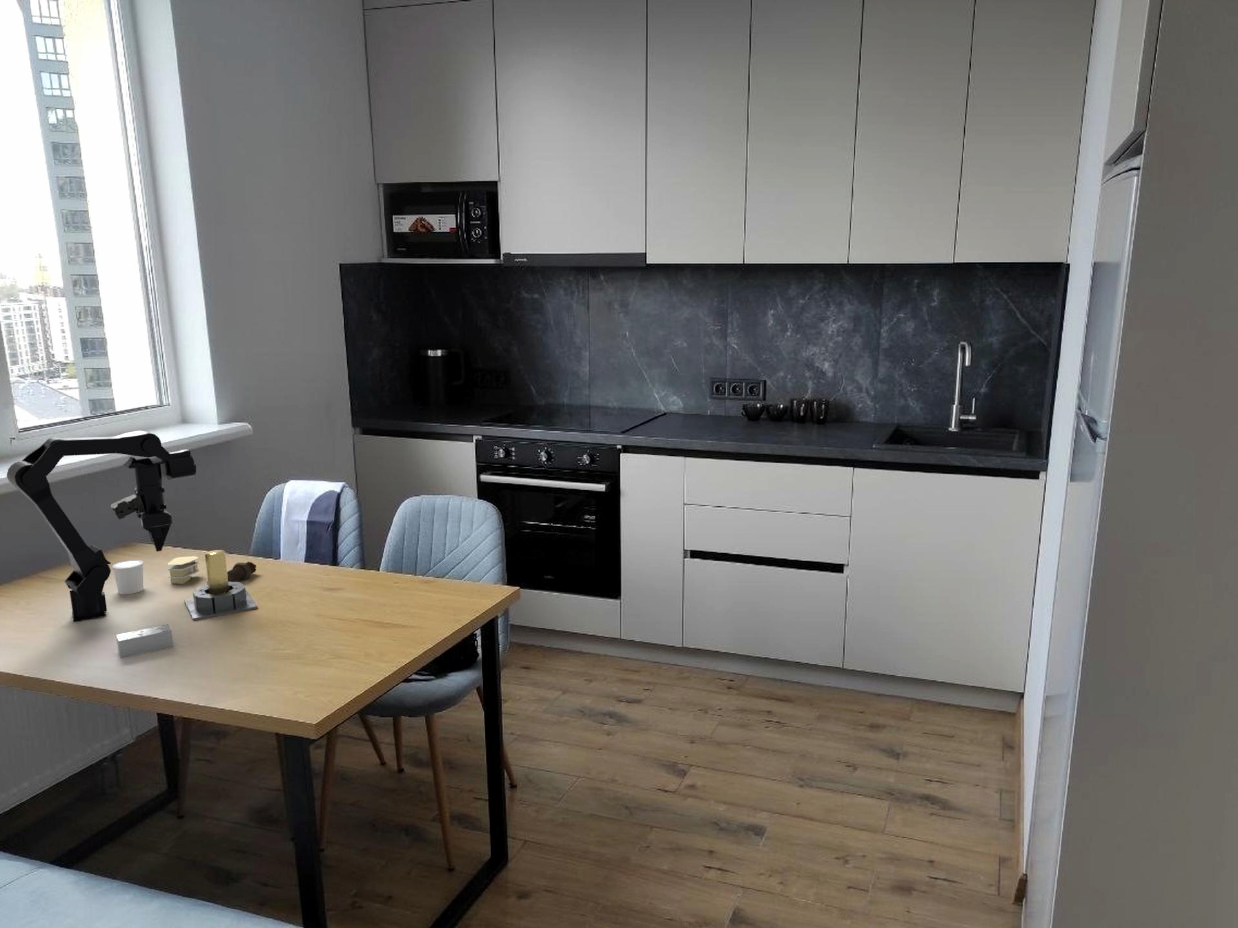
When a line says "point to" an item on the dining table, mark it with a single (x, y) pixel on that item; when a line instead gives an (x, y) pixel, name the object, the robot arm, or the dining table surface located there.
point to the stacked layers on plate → (183, 569)
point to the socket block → (219, 602)
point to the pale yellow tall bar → (216, 572)
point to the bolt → (241, 571)
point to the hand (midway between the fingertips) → (156, 546)
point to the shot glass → (129, 576)
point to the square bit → (144, 641)
